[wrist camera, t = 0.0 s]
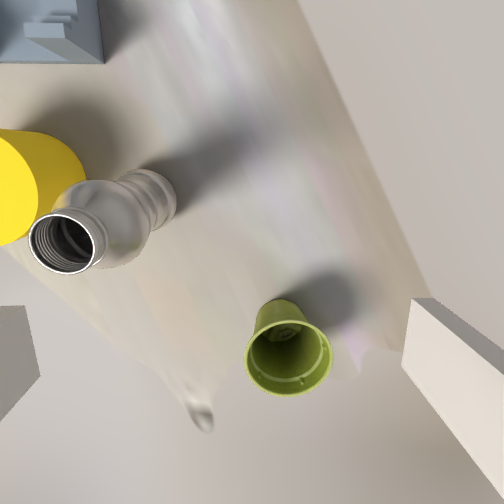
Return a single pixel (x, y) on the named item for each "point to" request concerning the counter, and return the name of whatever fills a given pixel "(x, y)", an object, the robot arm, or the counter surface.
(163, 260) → the counter surface
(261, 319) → the plant pot
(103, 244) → the metal bottle
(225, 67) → the counter surface
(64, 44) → the blue notched cradle
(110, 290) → the counter surface
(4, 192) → the yellow hollow cylinder
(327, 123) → the counter surface
